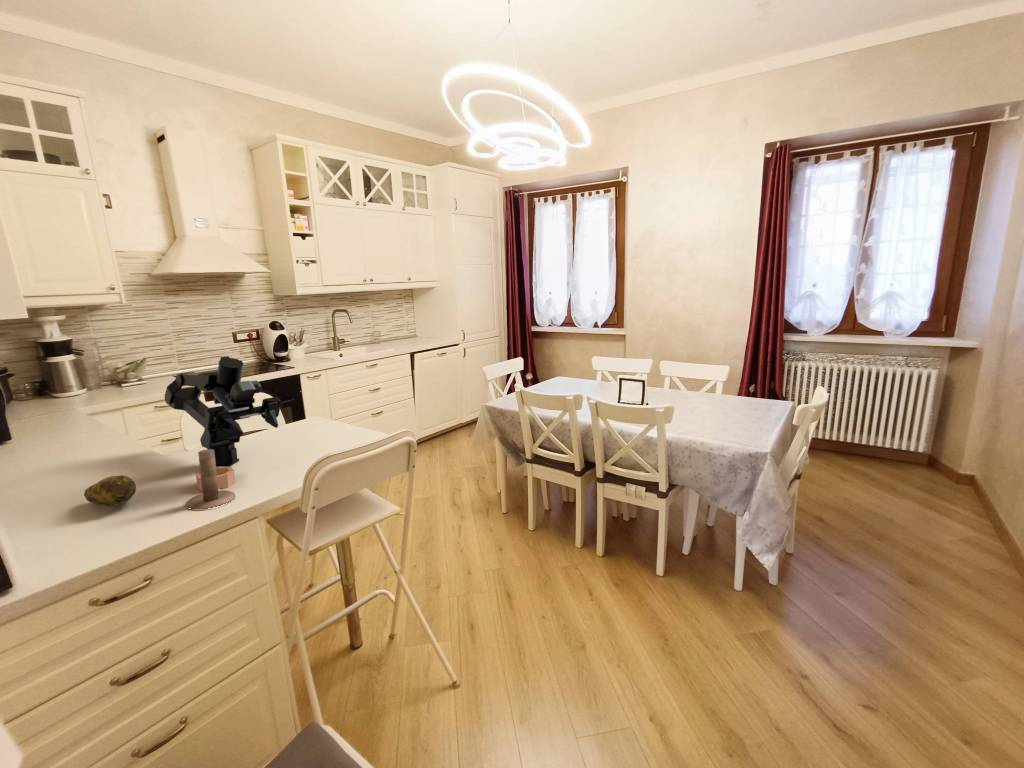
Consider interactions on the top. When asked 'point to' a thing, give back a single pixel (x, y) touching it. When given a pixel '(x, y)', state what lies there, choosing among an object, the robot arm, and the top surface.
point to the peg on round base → (209, 484)
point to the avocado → (111, 490)
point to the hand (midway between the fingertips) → (260, 430)
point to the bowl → (220, 477)
